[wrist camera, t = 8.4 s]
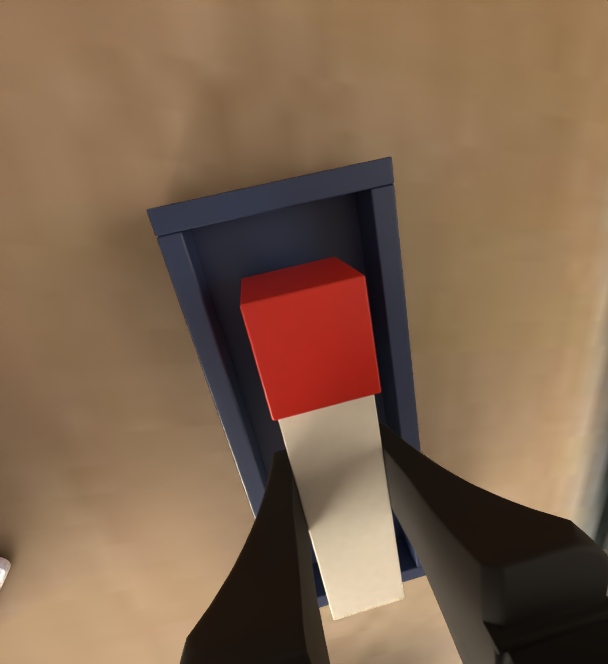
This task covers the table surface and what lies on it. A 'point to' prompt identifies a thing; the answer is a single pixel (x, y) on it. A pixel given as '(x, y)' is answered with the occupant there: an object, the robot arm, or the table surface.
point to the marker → (329, 421)
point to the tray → (277, 253)
